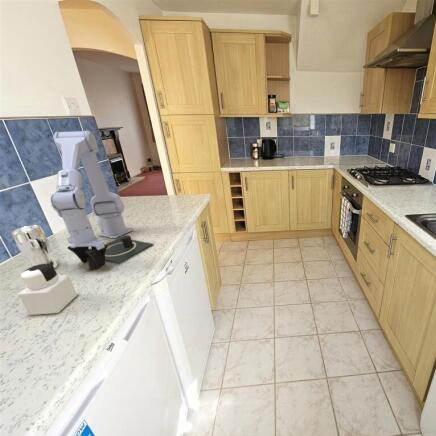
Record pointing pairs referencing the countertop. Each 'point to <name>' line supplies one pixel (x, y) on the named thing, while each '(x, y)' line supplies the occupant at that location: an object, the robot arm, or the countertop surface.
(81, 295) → the countertop surface
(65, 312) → the countertop surface
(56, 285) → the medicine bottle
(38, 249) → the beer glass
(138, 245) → the slate board
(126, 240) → the eye stopper
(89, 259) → the eye stopper
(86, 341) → the countertop surface
